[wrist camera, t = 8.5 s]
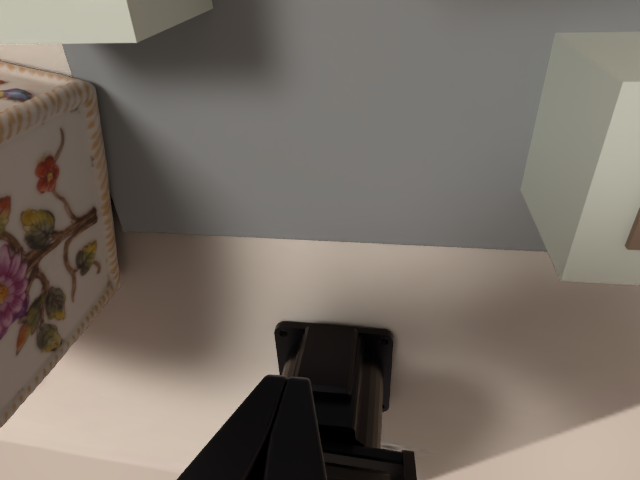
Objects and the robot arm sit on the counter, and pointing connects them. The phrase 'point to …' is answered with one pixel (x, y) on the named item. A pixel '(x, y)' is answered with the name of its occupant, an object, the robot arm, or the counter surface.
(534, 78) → the slate rubber mat
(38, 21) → the brown paneled pale cube
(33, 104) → the decorative jar
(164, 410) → the counter surface
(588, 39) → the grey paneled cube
